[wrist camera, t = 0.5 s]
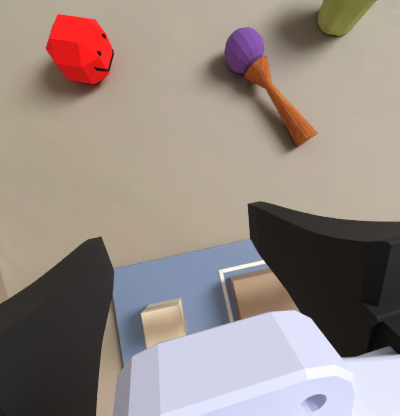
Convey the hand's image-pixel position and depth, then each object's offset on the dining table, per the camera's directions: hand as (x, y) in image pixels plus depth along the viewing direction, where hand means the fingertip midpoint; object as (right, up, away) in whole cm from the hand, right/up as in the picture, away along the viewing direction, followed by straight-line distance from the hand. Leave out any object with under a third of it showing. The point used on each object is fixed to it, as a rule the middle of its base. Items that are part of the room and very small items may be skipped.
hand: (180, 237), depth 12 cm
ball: (-17, +25, +29) cm, 41 cm away
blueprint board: (+3, -12, +22) cm, 26 cm away
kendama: (+12, +20, +28) cm, 36 cm away
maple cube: (-3, -14, +21) cm, 26 cm away
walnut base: (+9, -11, +22) cm, 26 cm away
